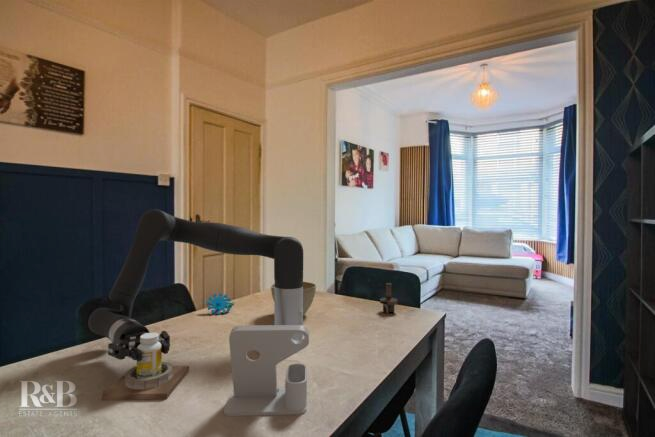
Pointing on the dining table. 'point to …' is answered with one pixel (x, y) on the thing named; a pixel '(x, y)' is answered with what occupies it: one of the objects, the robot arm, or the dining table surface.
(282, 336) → the white tool holder stand
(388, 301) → the industrial component
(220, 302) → the blue spiky rounded piece
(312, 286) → the flower pot
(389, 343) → the dining table surface
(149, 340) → the supplement bottle
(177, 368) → the walnut board
